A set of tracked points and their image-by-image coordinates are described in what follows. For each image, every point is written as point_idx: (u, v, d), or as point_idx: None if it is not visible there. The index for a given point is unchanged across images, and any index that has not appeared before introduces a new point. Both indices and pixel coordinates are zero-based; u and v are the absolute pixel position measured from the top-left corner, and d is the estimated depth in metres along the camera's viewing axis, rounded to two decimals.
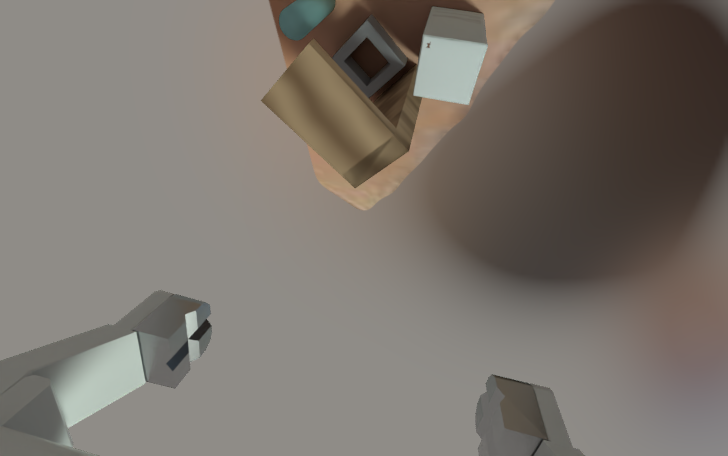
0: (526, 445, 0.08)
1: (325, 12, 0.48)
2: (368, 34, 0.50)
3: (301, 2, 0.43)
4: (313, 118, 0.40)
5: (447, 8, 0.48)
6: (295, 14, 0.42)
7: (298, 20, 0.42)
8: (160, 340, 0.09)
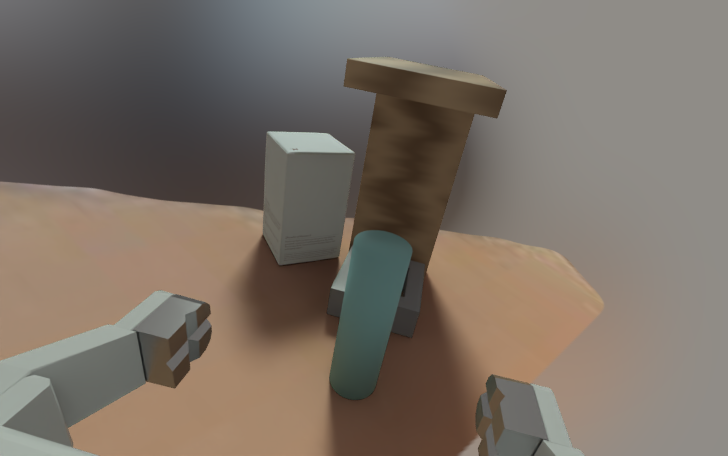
0: (526, 445, 0.08)
1: None
2: None
3: (349, 279, 0.22)
4: (448, 74, 0.24)
5: (273, 252, 0.39)
6: (365, 244, 0.21)
7: (371, 240, 0.22)
8: (160, 340, 0.09)
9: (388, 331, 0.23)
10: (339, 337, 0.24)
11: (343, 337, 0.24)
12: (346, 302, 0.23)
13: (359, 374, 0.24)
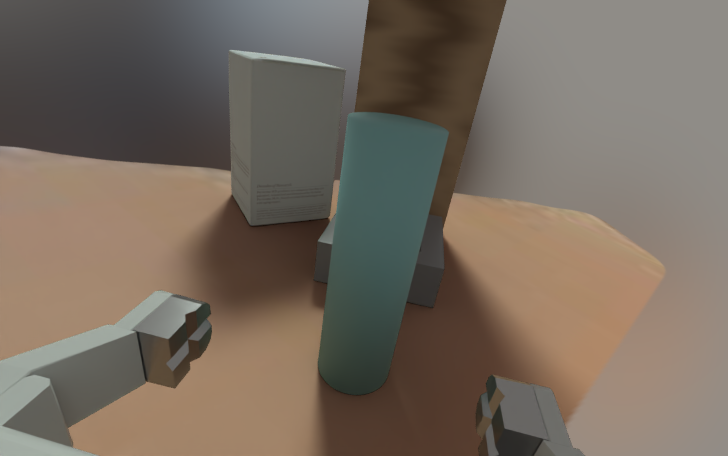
0: (526, 445, 0.08)
1: None
2: None
3: (343, 187, 0.13)
4: None
5: (243, 210, 0.30)
6: (368, 120, 0.12)
7: (377, 118, 0.13)
8: (160, 340, 0.09)
9: (409, 280, 0.14)
10: (330, 294, 0.15)
11: (335, 293, 0.15)
12: (339, 230, 0.14)
13: (364, 353, 0.15)
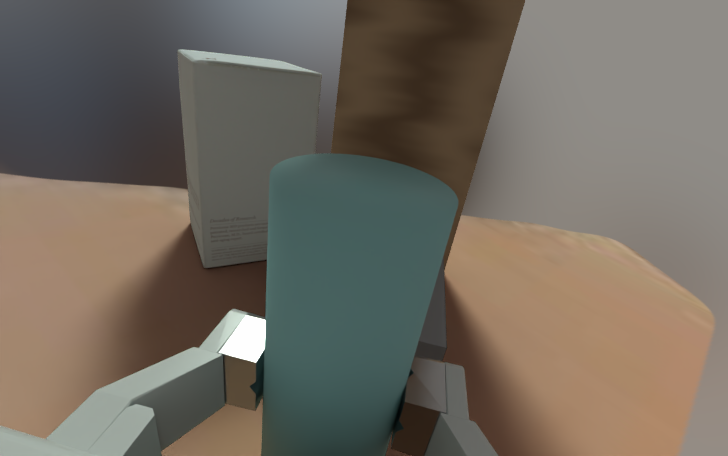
0: (427, 418, 0.08)
1: None
2: None
3: (268, 292, 0.07)
4: None
5: None
6: (308, 178, 0.07)
7: (329, 170, 0.07)
8: (247, 363, 0.08)
9: (389, 428, 0.09)
10: (263, 441, 0.09)
11: (269, 447, 0.09)
12: (268, 358, 0.08)
13: None
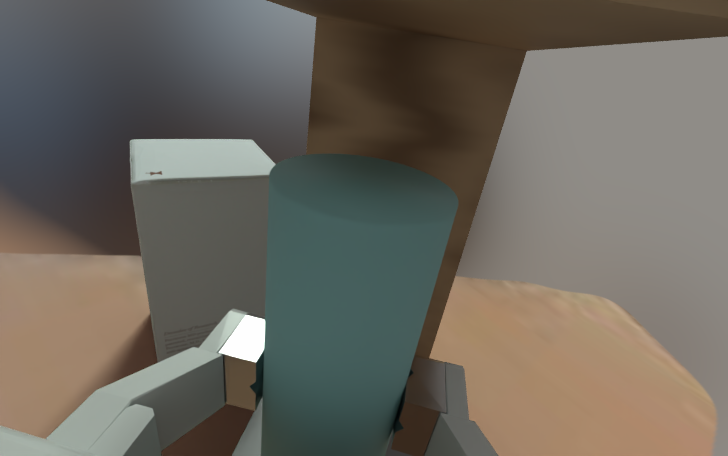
0: (426, 419, 0.08)
1: None
2: None
3: (267, 292, 0.07)
4: None
5: None
6: (307, 178, 0.07)
7: (328, 170, 0.07)
8: (246, 364, 0.08)
9: (389, 429, 0.09)
10: (263, 442, 0.09)
11: (268, 448, 0.09)
12: (266, 359, 0.08)
13: None
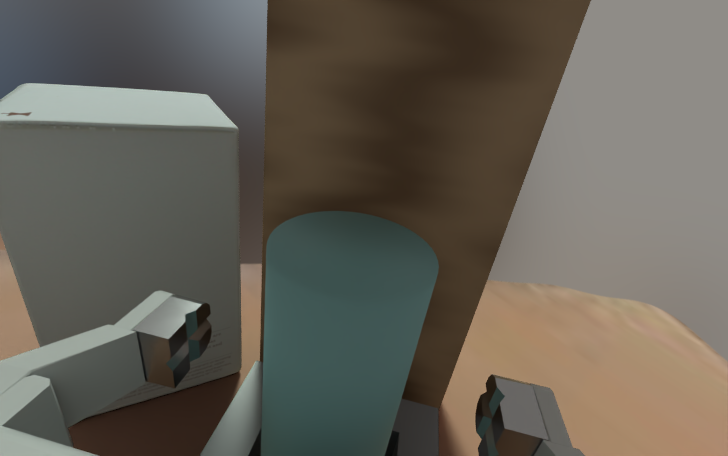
0: (526, 445, 0.08)
1: None
2: None
3: (265, 346, 0.08)
4: None
5: None
6: (301, 247, 0.07)
7: (321, 235, 0.08)
8: (160, 340, 0.09)
9: None
10: None
11: None
12: (264, 404, 0.09)
13: None
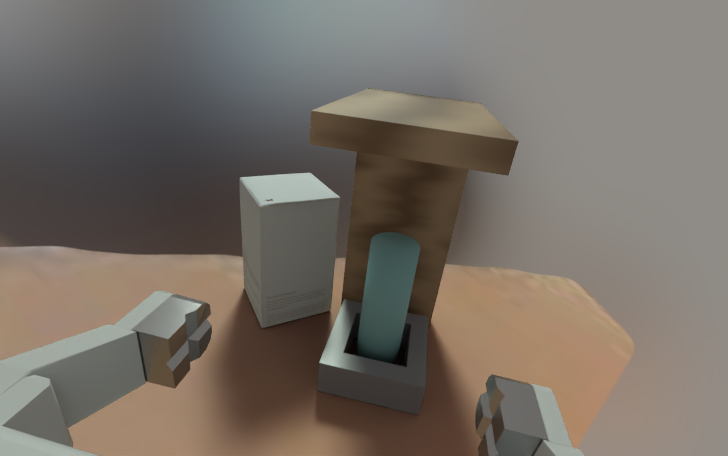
0: (526, 445, 0.08)
1: None
2: (338, 352, 0.28)
3: (369, 274, 0.26)
4: (440, 113, 0.20)
5: (254, 311, 0.35)
6: (380, 243, 0.26)
7: (385, 240, 0.26)
8: (160, 340, 0.09)
9: (404, 318, 0.28)
10: (362, 326, 0.28)
11: (365, 325, 0.28)
12: (367, 294, 0.27)
13: (381, 357, 0.28)
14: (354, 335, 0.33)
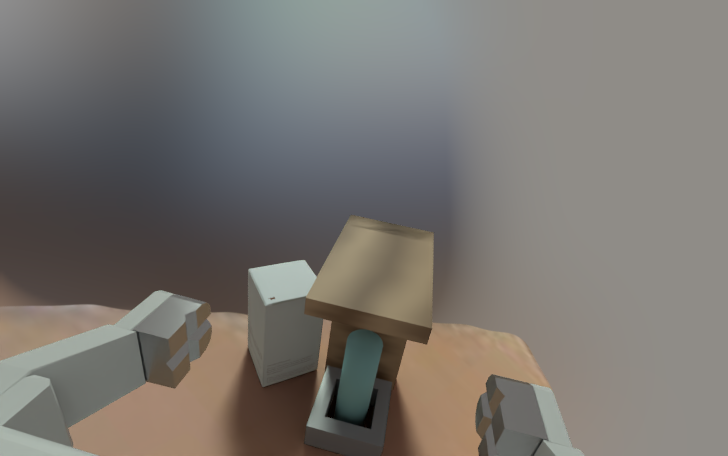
0: (526, 445, 0.08)
1: None
2: (321, 416, 0.37)
3: (345, 363, 0.36)
4: (394, 275, 0.29)
5: (257, 372, 0.44)
6: (354, 342, 0.35)
7: (357, 338, 0.35)
8: (160, 340, 0.09)
9: (370, 392, 0.37)
10: (339, 396, 0.38)
11: (341, 397, 0.37)
12: (343, 376, 0.36)
13: (353, 419, 0.38)
14: (334, 394, 0.43)
